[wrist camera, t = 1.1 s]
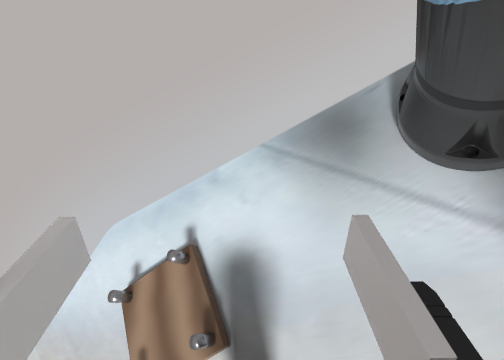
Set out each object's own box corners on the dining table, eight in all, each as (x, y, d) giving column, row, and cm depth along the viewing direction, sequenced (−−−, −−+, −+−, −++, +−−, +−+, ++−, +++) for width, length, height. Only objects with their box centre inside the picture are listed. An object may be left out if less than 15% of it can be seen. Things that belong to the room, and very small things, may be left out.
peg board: (196, 246, 42) (177, 240, 39) (230, 345, 35) (209, 349, 31) (127, 292, 45) (103, 291, 41) (144, 395, 37) (116, 404, 33)
